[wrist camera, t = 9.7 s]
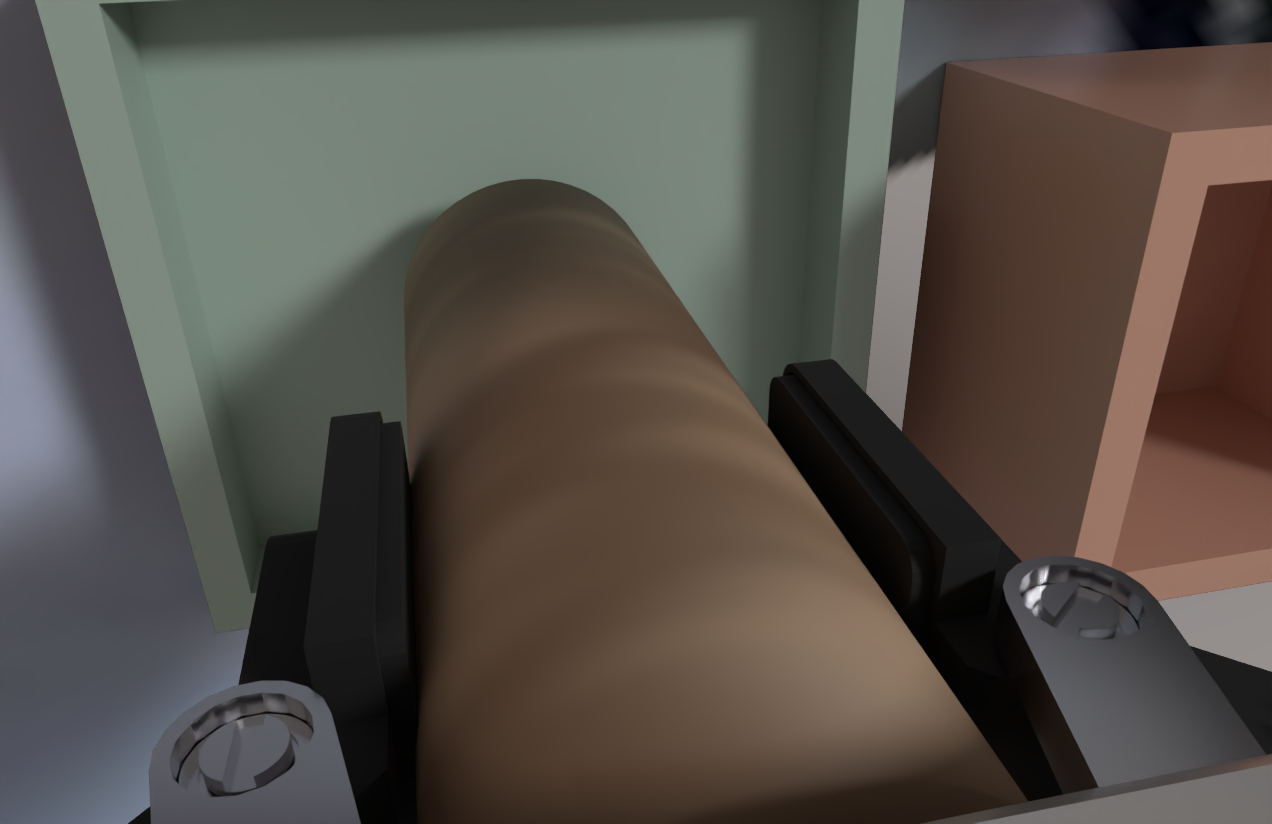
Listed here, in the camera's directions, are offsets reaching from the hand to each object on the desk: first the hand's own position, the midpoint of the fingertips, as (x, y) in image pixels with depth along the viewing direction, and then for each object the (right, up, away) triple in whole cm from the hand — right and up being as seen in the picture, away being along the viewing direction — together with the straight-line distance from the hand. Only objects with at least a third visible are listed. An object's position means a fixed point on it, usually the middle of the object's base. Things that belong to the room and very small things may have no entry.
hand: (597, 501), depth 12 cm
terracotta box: (+11, +5, +10) cm, 16 cm away
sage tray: (-2, +4, +7) cm, 9 cm away
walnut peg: (-1, +3, +6) cm, 7 cm away
